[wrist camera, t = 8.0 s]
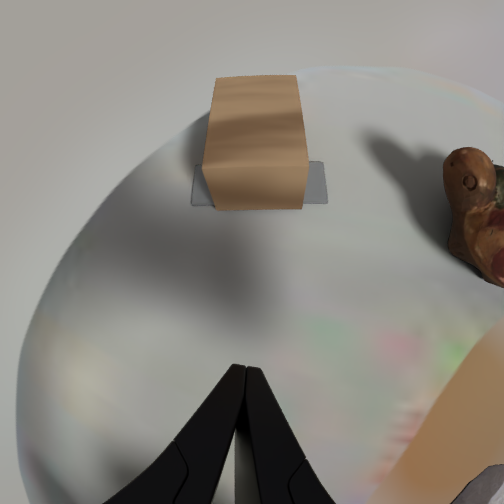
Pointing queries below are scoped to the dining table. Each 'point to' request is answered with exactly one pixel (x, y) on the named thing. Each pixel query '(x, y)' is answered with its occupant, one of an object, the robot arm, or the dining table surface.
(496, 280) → the decorative turtle
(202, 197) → the slate pad
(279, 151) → the walnut block
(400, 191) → the dining table surface
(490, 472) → the stone block
